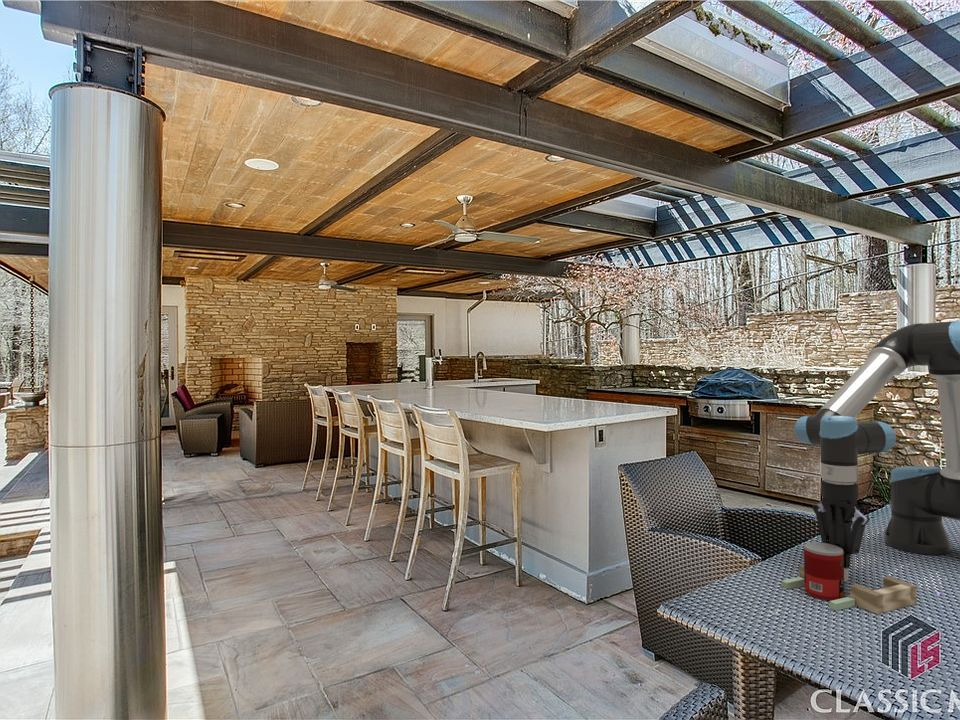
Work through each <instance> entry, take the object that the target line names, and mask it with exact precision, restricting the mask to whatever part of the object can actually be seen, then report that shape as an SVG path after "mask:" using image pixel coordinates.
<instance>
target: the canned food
mask: <svg viewBox="0 0 960 720" xmlns="http://www.w3.org/2000/svg"><path fill="white" fill-rule="evenodd" d="M803 565H804V581H805V585H804V589H805V592H806V593H807V594H808V595H809V596H812V597H813V598H817V599H821V600H824V601H825V600H826V601H832V600H837V599H841V598H844V596H845V581H844V553H843V549H842V548H840V547H838V546H835V545H832V544H827V543H822V542H816V541H813V542H812V541H811V542H806V543H804V544H803Z"/></svg>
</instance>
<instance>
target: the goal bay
mask: <svg viewBox="0 0 960 720" xmlns="http://www.w3.org/2000/svg"><path fill="white" fill-rule="evenodd" d="M803 586H804V587H805V581H804V578H801V577H800V576H797V577H792V578H788V579H784V580H781V588H783V589H786V590H790V589H793V588H794V589H795V588H798V587H803ZM828 601H829V602H828V603H829V609H831V610H833V611H836V612H837V611H840V610H844V609H848V608H853V607H856V605H855V599H853V598H850V596H846V597H843V598H841V599H837V600H828Z"/></svg>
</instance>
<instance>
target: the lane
mask: <svg viewBox="0 0 960 720" xmlns="http://www.w3.org/2000/svg"><path fill="white" fill-rule="evenodd" d="M798 567H799V568H798V569H799V577H801V578H804V564H802V565H799V566H798ZM882 583H883V585H882V586H883V587H882V588H879V589H875V590H873V589H870V588H867V587H865V586H862V585H859V584H858V583H854V584H851V585H849V597H850V598H853V599H855V607H860V608H861V609H864V610H866V611H868V612H871V613H874V614H876V615H879V614H883V613H887V612H890V611H895V610H897V609H902V608H906V607H910V606H914V605H918V597H917V595H918V594H917V593H918V589H917V588H918V587H917V585H914V584H912V583H909V582H907V581H904V580H901V579H898V578H895V577H892V576H886V577H882Z"/></svg>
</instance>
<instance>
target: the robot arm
mask: <svg viewBox="0 0 960 720" xmlns="http://www.w3.org/2000/svg"><path fill="white" fill-rule="evenodd" d="M915 366H927V369H928V375H929V376H930V377H932V378H933V379H935V380H936V384H937V386H936V387H937V395H938V404H939V412H940V422H941V430H942V439H943V440H942V441H943V447H944V448H943V449H944V458H945V467H943V468H942V469H941V467H938V466H931V465H928V466H927V465H911V466H910V465H908V466H907V465H906V466H897V467H895V468H893V469H892V470H891V472H890V481H889V484H890V509H891V514H890V515H891V516H890V519H889V521H888V524H887V526H886V529H885V532H884V543H885V544H887V546H890V547H892V548H894V549H897V550H901V551H904V552H909V553H915V554H920V555H930V556H931V555H933V556H938V555H939V556H941V555H947V554H948V555H949V554H950V553H951V550H952V549H951V541H950V540H949V537H948V535H947V532H946V529H945V527H944V525H943V518H947V519H950V520H954V521H959V522H960V320H954V321H953V320H952V321H939V322H928V323H927V322H926V323H925V322H924V323H923V322H922V323H913V324H908V325H906V326H904V327H900V328H899V329H896V330H895V331H892V332H891V333H889V334H888V335H886V336H885V337H884V338H882V339H881V340H879V341H878V342H877V343H876V344H875V345H874V346H873V347H872V348H870V350H869V351H868V353H867V359H866V360H865V361H864V362H863V363H862V364H861V365H860V366H859V368H857V370H856V371H854V373H853V374H852V375H851V376H850V377H849V378H848V379H847V380H846V381H845V383H844V384H842V386H841V387H840V388H839V389H838V390H837V391H835V393H834V394H833V395H832V396H831V397H830V398H829V400H827V401H826V402H825V404H824V405H823V406H822V407H820V409H819V410H818V411H817V412H816V413H815V414H814V415H813V416H812V415H806V416H801V417H799V418H798V419H797V421H796V422H795V425H794V434H795V437H796V439H797V440H798V441H800V442H801V443H804V444H808V445H812V446H813V447H814V446H815V447H820V478H821V479H822V480H821V481H820V495H821V496H822V498H821V501H820V503H818V504H813V505H812V506H811V508H812V510H813V512H814V514H815V516H816V521H817V526H818V529H819V534H820V538H821V539H820V540H821V543H827V544H832V545H835V546H838V547H840V548H842V549H843V553H844V582H846V581H848V580H849V577H848V576H849V572H848V571H849V570H848V569H850V568H851V555H856V554H859V553H860V550H861V546H862V541H863V537H864V532H865V529H866V525H867V524H868V523H869V522H870V519H871V517H869V516H868V515H864V514H863V513H862V512H860V508H859V506H858V503H857V502H858V499H859V485H858V484H857V482H859V466H858V465H859V463H858V455H868V454H880V453H884V452H887V451H889V450H891V449H892V448H893V447H894V446H895V445H896V441H897V436H896V432H895V430H894V428H892V427H891V426H890V425H889V424H888V423H886V422H882V421H875V420H870V421H869V422H868V421H858V420H857V419H856V417H857V416H858V415H859V414H860V413H861V412H862V411H863V410H864V409H865V408H866V406H867V405H869V404H870V402H871V401H872V400H873V399H874V398H875V397H876V396H877V395H878V394H879V393H880V392H881V390H882V389H883V388H884V387H886V385H887V384H888V383H889V382H890V380H891V379H893V377H894V376H897V375H900V374H902V373H904V372H905V371H906V369H908V368H910V367H915ZM853 521H854V522H853Z"/></svg>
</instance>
